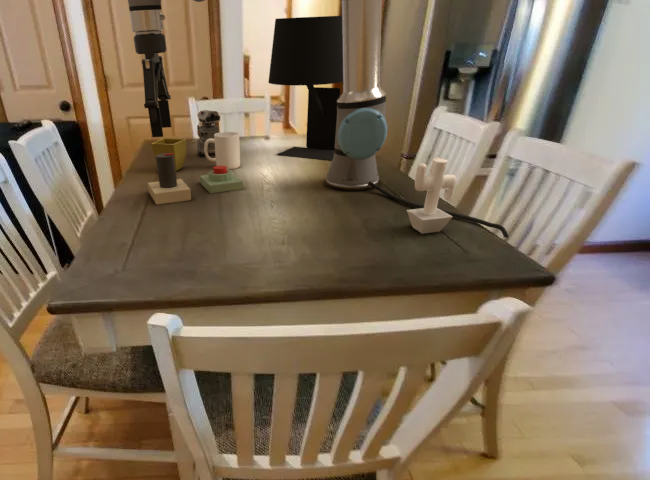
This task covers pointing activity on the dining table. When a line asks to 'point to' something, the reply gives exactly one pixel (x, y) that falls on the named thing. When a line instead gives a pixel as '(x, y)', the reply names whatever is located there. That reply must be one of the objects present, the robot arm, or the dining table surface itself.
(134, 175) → the dining table surface
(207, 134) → the figurine
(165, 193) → the dimmer panel
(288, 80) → the table lamp
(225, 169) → the button
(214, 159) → the cup
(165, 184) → the dimmer knob
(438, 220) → the figurine
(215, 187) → the switch box
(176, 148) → the flower pot
